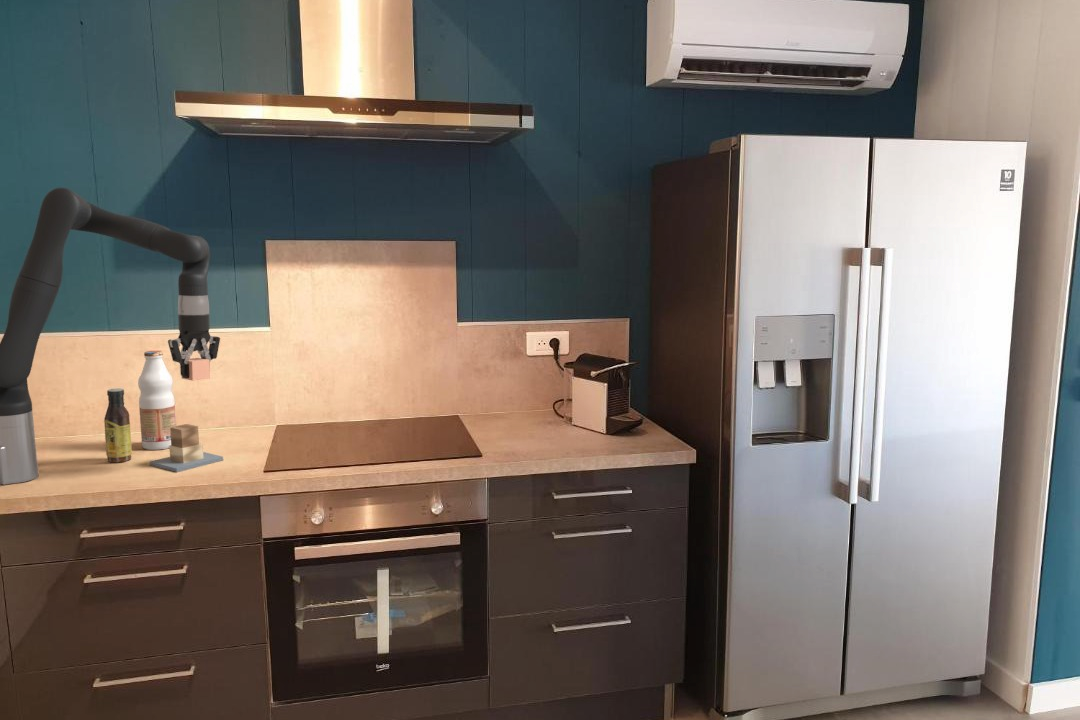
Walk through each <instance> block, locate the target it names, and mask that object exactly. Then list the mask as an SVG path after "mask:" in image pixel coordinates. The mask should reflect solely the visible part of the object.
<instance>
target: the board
mask: <svg viewBox="0 0 1080 720" xmlns="http://www.w3.org/2000/svg"><path fill="white" fill-rule="evenodd" d="M221 461H224V456H222V455H218V454H213V453H209V452H205V451H203V458H202V459H198V460H194V461H190V462H187V463H181V462H177V461H173V460H170V456H167V457H163V458H159V459H155V460H151V461H149V465H150V466H152V467H155V468H159V469H163V470H168V471H170V472H171V471H172V472H173V473H174V472H175V473H179V472H183V471H187V470H191V469H195V468H198V467H202V466H206V465H210V464H214V463H217V462H221Z"/></svg>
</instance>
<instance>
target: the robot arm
mask: <svg viewBox="0 0 1080 720" xmlns="http://www.w3.org/2000/svg"><path fill="white" fill-rule="evenodd" d="M38 213H39V214H38V219H37V220H36V221H37V222H36V226H35V229H34V234H33V237H32V240H31V243H30V245H29V248H28V250H27V252H26V255H25V257H24V260H23V263H22V266H21V268H20V271H19V274H18V276H17V278H16V280H15V284H14V286H13V290H12V292H11V296H10V302H9V307H8V318H7V324H6V327H5V332H4V333H3V336H2V338H1V340H0V484H1V485H3V486H4V485H9V484H11V485H12V484H19V483H24V482H28V481H32V480H35V479H37V478H38V477H39V466H38V465H39V464H38V456H37V445H36V436H35V425H34V424H35V423H34V413H33V403H32V402H33V401H32V399H31V396H30V392H29V386H28V385H29V383H28V378H29V377H30V375H31V371H32V368H33V363H34V357H35V354H36V349H37V345H38V342H39V339H40V336H41V334H42V331H43V328H45V325H46V322H47V320H48V318H49V316H50V314H51V310H52V309H53V306H54V303H55V301H56V298H57V295H58V294H59V290H60V287H61V286H62V279H63V271H64V269H63V268H64V250H65V249H64V248H65V245H66V242H67V239H68V236H69V234H70V231H71V230H73V231H81V232H86V233H87V232H88V233H92V234H98V235H101V236H106V237H109V238H112V239H116V240H119V241H122V242H125V243H127V244H130V245H133V246H136V247H139V248H142V249H145V250H148V251H152V252H155V253H159V254H162V255H164V256H167V257H169V258H171V259H174V260H177V261H179V262H182V267H181V272H180V274H179V275H178V280H177V283H178V284H177V285H178V286H177V287H178V301H177V316H178V318H177V319H178V320H177V321H178V331H179V334H178V337H176V338H174V339H168V341H167V343H168V348H169V351H170V355H171V359H172V361H173V362H175V363H179V364H180V365H179V368H180V370H179V372H180V376H181V378H182V377H183V378H189V364H188V363H189V359H191V357H192V356H193V353H194V352H197V353H198V354H199V356H200V358H202V359H208V360H209V363H210V362H211V361H212V360H216V359H217V358H218V353H219V347H220V342H221V338H220V337H219V336H215V335H211V334H210V331H209V330H210V328H211V327H210V326H211V325H210V302H209V295H208V293H209V290H208V274H209V273H208V272H209V267H210V258H211V253H210V251H211V250H210V246H209V244H208V242H207V240H205V238H203V237H201V236H199V235H190V234H186V233H183V232H182V233H181V232H178V231H176V230H175V231H174V230H171V229H170V228H169V227H167V226H164V225H162V224H159V223H156V222H152V221H149V220H147V219H143V218H137V217H134V216H128V215H123V214H119V213H115V212H112V211H108V210H106V209H104V208H101V207H99V206H97V205H95V204H93V203H91V202H89V201H87V200H86V199H84V198H83V197H82V196H81V195H79V194H78V193H76V192H74V191H72V189H69V188H65V187H56V188H53V189H52V190H50V191H49V192H48V193H46V195H45V196H44V198H43V200H42V202H41V205H40V210H39V212H38ZM208 343H209V346H208ZM180 346H182V347H181V348H180Z"/></svg>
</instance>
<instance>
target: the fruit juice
mask: <svg viewBox="0 0 1080 720" xmlns="http://www.w3.org/2000/svg"><path fill="white" fill-rule="evenodd" d="M143 356H144V358H145V361H144V364H143V367H142V369H141V371H142V372H141V373H140V375H139V377H138V380H137V381H138V382H137V386H138V389H139V392H140V394H139V397H138V409H139V410H138V411H139V421H140V436H141V446H142V448H143V449H144V450H147V451H148V450H150V451H158V450H167V449H169V445H171V433H170V427H175V426H177V419H176V418H177V416H176V403H175V402H176V401H175V395H174V393H173V391H172V390H173V385H174V381H173V377H172V375H171V373H170V372H169V371H168V369H167V366H166V365H165V362H164V360H163V356H164V351H163V350H146V351H144V353H143Z"/></svg>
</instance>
